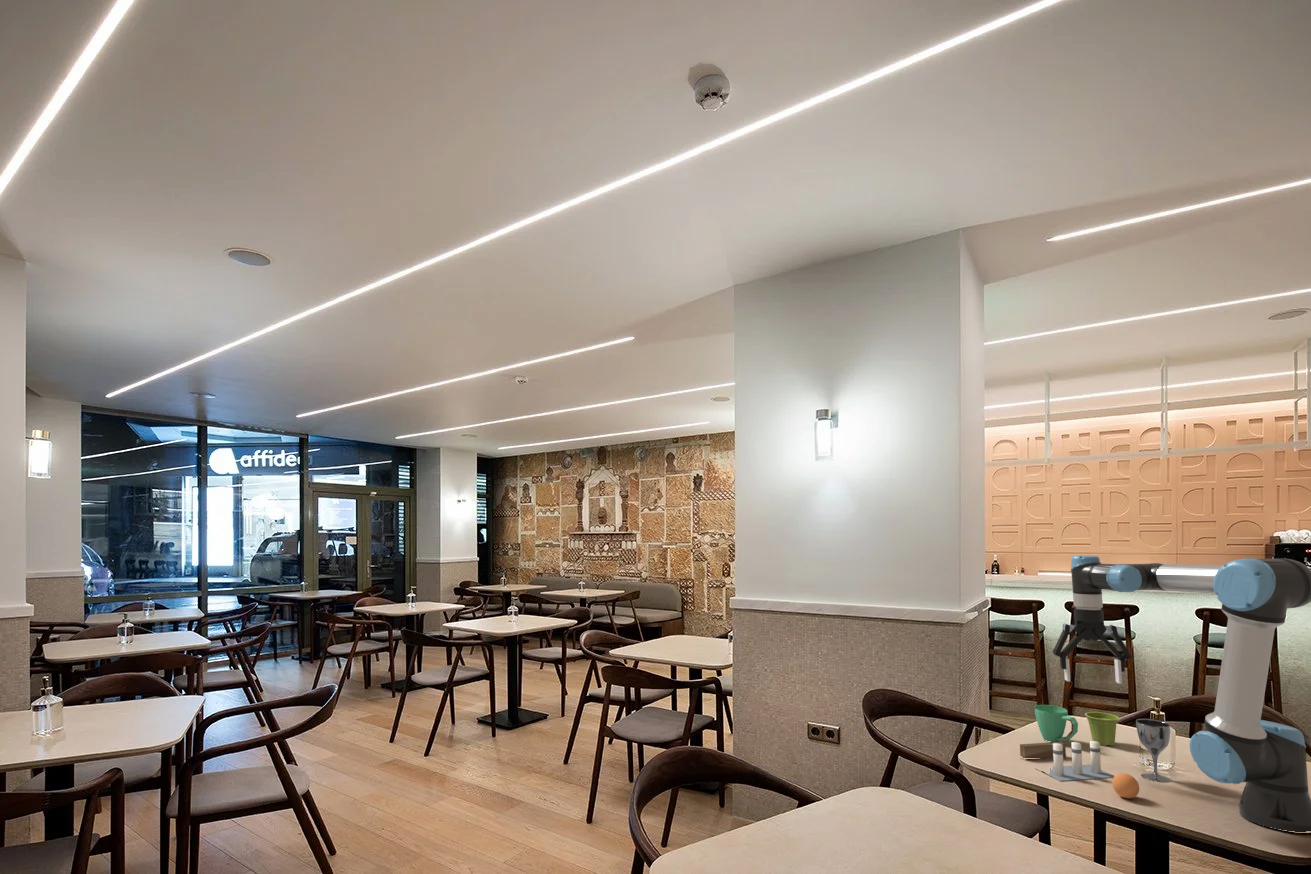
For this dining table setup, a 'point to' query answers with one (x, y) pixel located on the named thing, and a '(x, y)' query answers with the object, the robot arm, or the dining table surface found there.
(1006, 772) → the dining table surface
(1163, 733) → the wine glass
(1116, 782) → the brown egg
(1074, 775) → the pin deck
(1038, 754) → the back wall
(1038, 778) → the dining table surface
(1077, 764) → the pin middle
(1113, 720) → the plant pot
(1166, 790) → the dining table surface
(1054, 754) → the pin left
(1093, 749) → the pin right
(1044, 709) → the mug
